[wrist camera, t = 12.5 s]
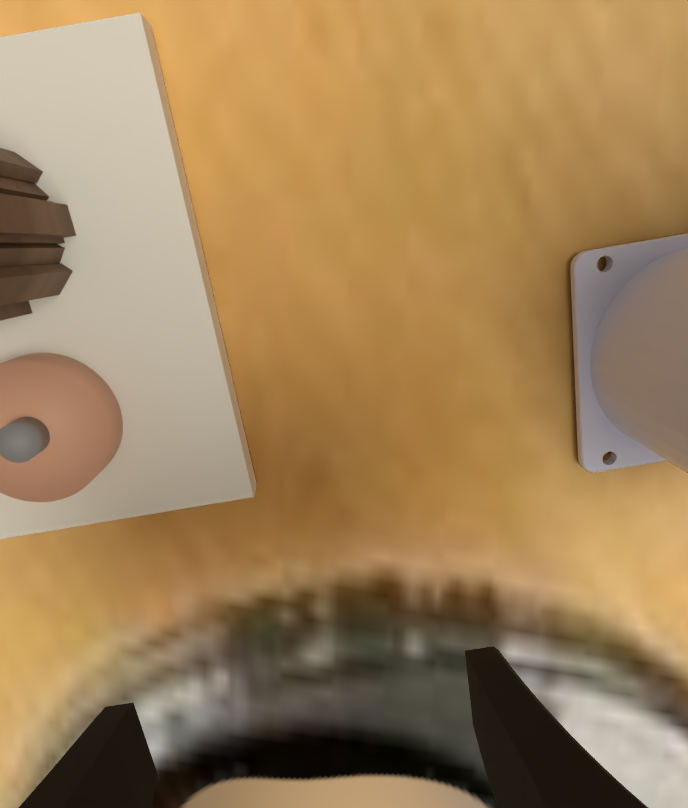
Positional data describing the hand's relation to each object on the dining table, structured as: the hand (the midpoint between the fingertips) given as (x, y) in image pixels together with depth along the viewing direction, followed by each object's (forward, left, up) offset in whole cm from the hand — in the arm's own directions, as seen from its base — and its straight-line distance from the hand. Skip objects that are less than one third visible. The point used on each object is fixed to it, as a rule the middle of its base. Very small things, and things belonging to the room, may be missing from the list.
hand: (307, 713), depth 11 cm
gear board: (+8, -9, -9) cm, 15 cm away
